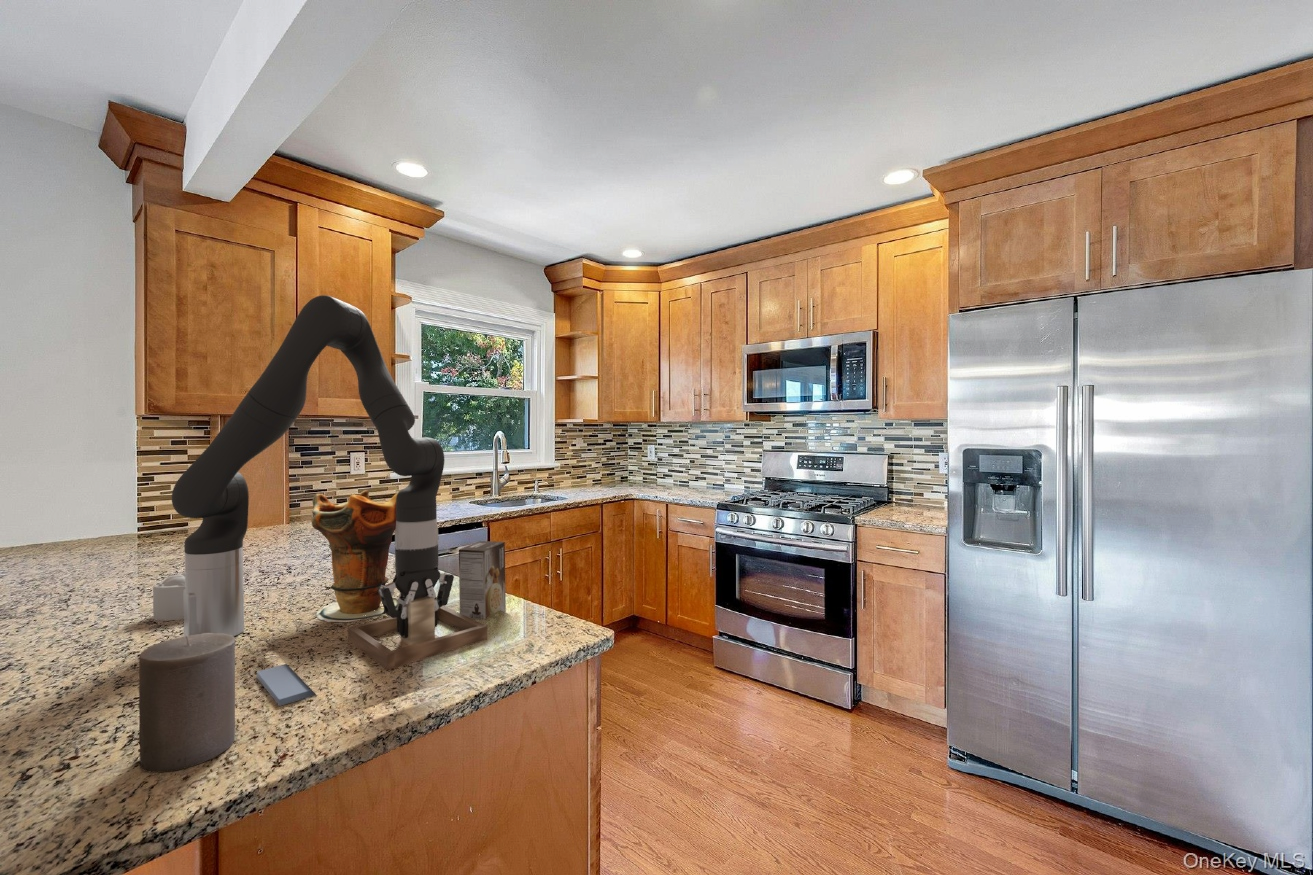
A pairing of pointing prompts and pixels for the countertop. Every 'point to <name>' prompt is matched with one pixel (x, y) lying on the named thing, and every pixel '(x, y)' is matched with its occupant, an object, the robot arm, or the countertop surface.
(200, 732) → the pillar candle
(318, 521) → the decorative vase
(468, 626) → the brown wooden square frame
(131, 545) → the countertop surface
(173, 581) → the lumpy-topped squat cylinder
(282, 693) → the pad
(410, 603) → the maple block
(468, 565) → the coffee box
